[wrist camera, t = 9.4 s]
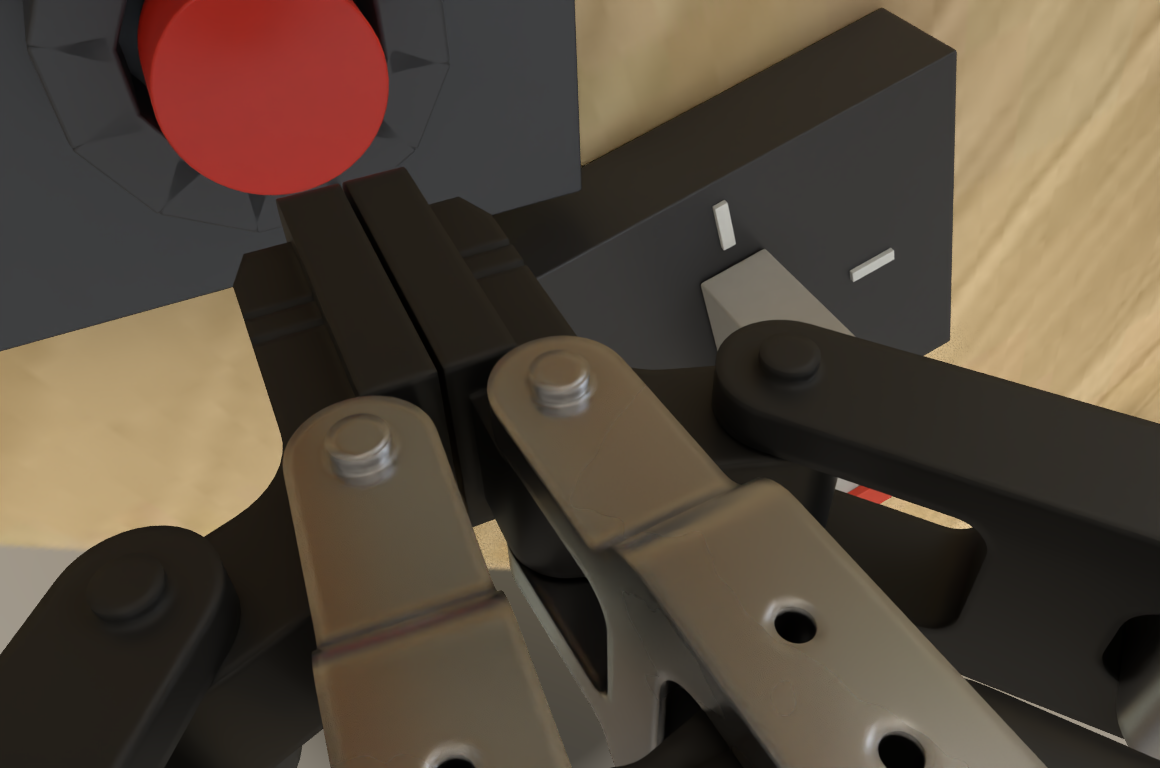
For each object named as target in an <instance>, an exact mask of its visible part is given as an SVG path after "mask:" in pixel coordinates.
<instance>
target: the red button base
mask: <svg viewBox="0 0 1160 768" xmlns="http://www.w3.org/2000/svg"><path fill="white" fill-rule="evenodd" d="M144 1H145V0H0V351H3V350H7V349H10V348H14V347H18V346H21V345H25V344H28V343H32V342H36V341H39V340H43V339H47V338H50V337H54V336H57V335H61V334H65V333H68V332H72V331H75V330H79V329H83V328H86V327H90V326H94V325H97V324H101V323H104V322H108V321H112V320H115V319H119V318H122V317H126V316H130V315H133V314H137V313H141V312H144V311H148V310H151V309H155V308H159V307H162V306H166V305H170V304H173V303H177V302H180V301H184V300H188V299H191V298H195V297H198V296H202V295H206V294H209V293H213V292H217V291H220V290H224V289H227V288H231V287H233V283H234V281H235V278H236V275H237V272H238V269H239V266H240V263H241V260H242V257H243V254H246V253H249V252H253V251H257V250H261V249H264V248H268V247H272V246H276V245H279V244H283V243H287V241H286V237H285V234H284V230H283V227H282V224H281V220H280V216H279V213H278V209H277V205H276V199H278V198H282V197H286V196H290V195H294V194H298V193H302V192H306V191H310V190H314V189H318V188H322V187H326V186H330V185H334V184H339V185H340V186H341V188H342V183H343V182H345V181H349V180H353V179H357V178H361V177H364V176H368V175H372V174H376V173H380V172H384V171H388V170H392V169H396V168H400V167H405V168H406V169H407V171H408V172H409V174H410V175H411V177H412V178H413V180H414V182H415V183H416V185H417V186H418V188H419V190H420V191H421V193H422V194H423V196H424V198H425V199H426V201H427V202H428V204H432V203H436V202H440V201H444V200H447V199H451V198H455V197H461V198H463V199H464V200H466V201H468V202H470V203H472V204H473V205H475V206H477V207H479V208H481V209H483V210H484V211H486V212H488V213H490V214H491V215H495V214H499V213H502V212H506V211H510V210H513V209H517V208H520V207H524V206H528V205H531V204H535V203H538V202H542V201H546V200H549V199H553V198H557V197H560V196H564V195H567V194H571V193H575V192H578V191H580V190H581V189H582V186H581V160H580V133H579V106H578V79H577V53H576V26H575V0H353V2H354V3H355V4H356V6H357V7H358V8H359V10H360V11H361V13H362V14H363V15H364V17H365V18H366V20H367V21H368V22H369V24H370V25H371V27H372V28H373V30H374V32H375V34H376V36H377V37H378V39H379V42H380V44H381V47H382V49H383V52H384V55H385V59H386V63H387V68H388V77H389V95H388V101H387V108H386V111H385V114H384V118H383V121H382V124H381V126H380V128H379V130H378V133H377V135H376V136H375V138H374V140H373V141H372V143H371V145H370V146H369V147H368V149H367V150H366V151H365V152H364V154H363V155H362V156H361V157H360V158H359V159H358V160H357V161H356V162H355V163H354V164H353V165H352V166H351V167H350V168H348V169H347V170H346V171H344V172H343V173H342V174H340V175H339V176H337V177H335V178H334V179H332V180H330V181H329V182H326V183H324V184H322V185H320V186H317V187H315V188H312V189H309V190H305V191H302V192H297V193H292V194H284V195H258V194H251V193H245V192H241V191H237V190H234V189H230V188H228V187H225V186H223V185H220V184H218V183H216V182H214V181H212V180H210V179H208V178H206V177H205V176H203V175H201V174H200V173H199V172H197V171H196V170H195V169H193V168H192V167H190V166H189V165H188V164H187V163H186V162H185V161H184V160H183V159H182V158H181V157H180V156H179V155H178V154H177V153H176V151H175V150H174V149H173V148H172V147H171V145H170V144H169V142H168V141H167V139H166V138H165V136H164V134H163V133H162V131H161V129H160V127H159V124H158V122H157V120H156V117H155V114H154V111H153V107H152V104H151V100H150V96H149V93H148V89H147V85H146V82H145V78H144V74H143V71H142V67H141V63H140V59H139V52H138V45H137V30H138V24H139V17H140V13H141V10H142V7H143V3H144ZM342 190H343V189H342Z"/></svg>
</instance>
